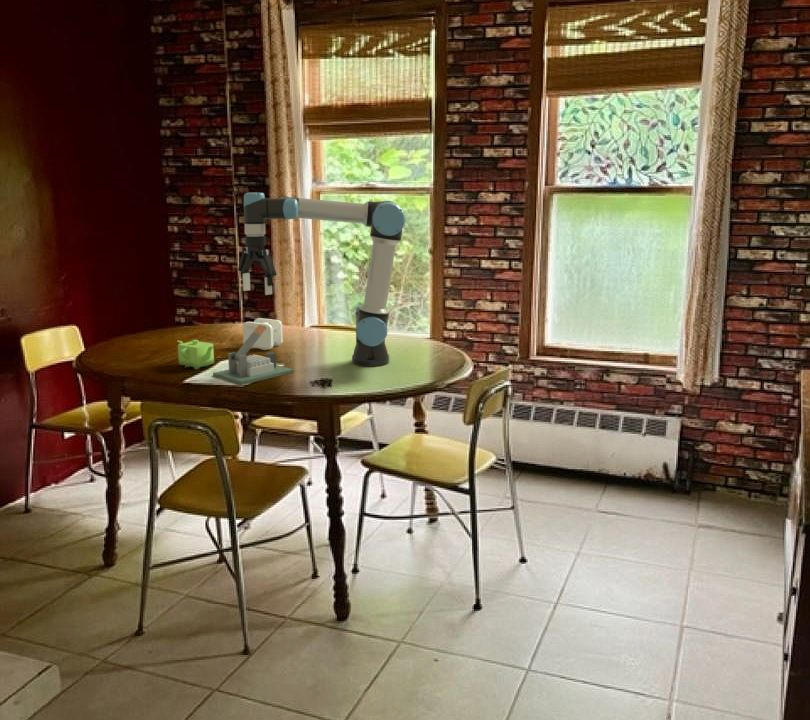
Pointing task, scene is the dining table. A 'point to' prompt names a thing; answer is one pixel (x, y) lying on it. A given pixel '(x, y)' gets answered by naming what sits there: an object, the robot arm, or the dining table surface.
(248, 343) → the orange-tipped flat strip
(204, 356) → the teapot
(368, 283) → the robot arm
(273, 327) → the cable organizer
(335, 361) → the dining table surface
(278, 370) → the heatsink board
